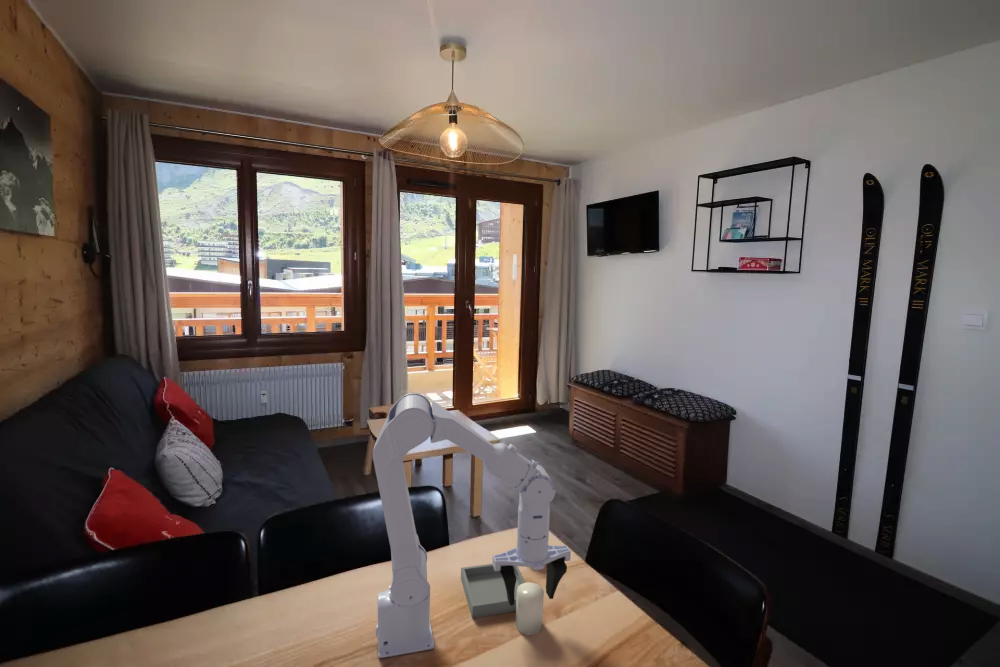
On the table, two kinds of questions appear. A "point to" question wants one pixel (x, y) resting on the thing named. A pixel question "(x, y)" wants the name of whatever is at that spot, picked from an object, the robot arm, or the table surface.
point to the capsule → (529, 608)
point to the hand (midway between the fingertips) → (530, 598)
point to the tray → (488, 590)
